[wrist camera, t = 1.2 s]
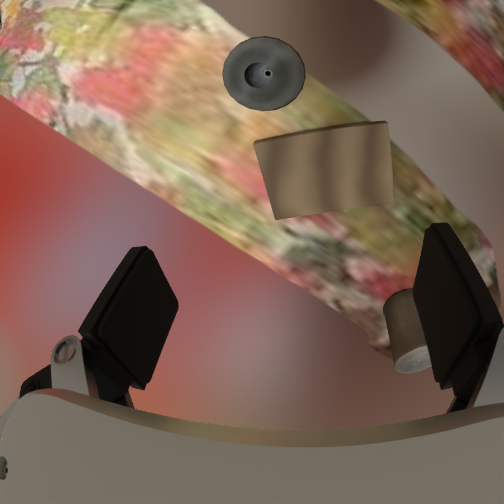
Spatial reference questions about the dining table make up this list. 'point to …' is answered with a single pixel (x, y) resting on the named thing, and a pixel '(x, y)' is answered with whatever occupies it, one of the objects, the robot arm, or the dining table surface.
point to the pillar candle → (406, 333)
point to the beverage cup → (263, 73)
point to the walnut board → (327, 169)
